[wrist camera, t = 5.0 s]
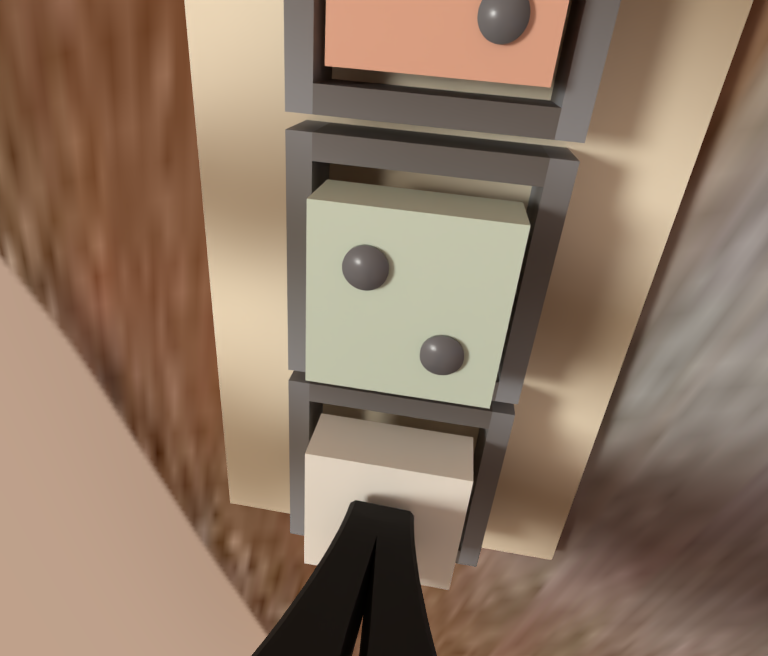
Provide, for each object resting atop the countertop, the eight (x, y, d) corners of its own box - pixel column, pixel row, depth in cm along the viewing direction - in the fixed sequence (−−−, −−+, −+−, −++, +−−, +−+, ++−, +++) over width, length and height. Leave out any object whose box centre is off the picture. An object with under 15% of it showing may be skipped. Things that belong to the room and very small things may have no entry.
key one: (450, 541, 14) (449, 594, 12) (318, 518, 14) (303, 566, 13) (473, 437, 12) (473, 485, 11) (321, 413, 12) (303, 456, 11)
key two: (487, 369, 11) (489, 411, 10) (323, 344, 11) (303, 382, 10) (522, 202, 9) (531, 227, 8) (327, 179, 10) (305, 200, 8)
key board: (550, 548, 16) (558, 603, 14) (235, 493, 17) (211, 539, 15) (856, -324, 7) (965, -428, 6) (165, -341, 8) (91, -434, 6)
